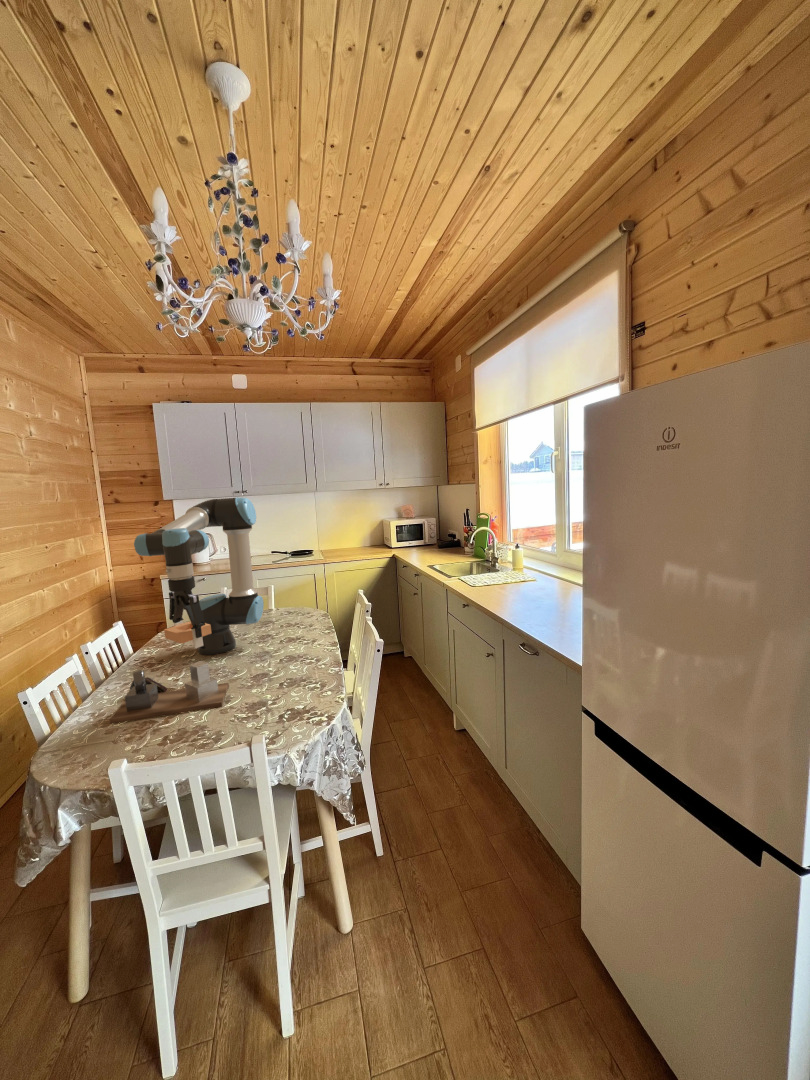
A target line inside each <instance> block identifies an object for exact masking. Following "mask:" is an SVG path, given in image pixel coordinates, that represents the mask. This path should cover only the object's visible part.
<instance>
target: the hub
mask: <svg viewBox="0 0 810 1080" xmlns="http://www.w3.org/2000/svg"><path fill="white" fill-rule="evenodd" d="M209 667H210V666H209V662H206V661H203V660H199V661H197V662H194V663H191V664H189V672H190V678H191V679H190V680H189V681H188V682H185V683H184V687H185V689H186V696H187V698H189V699H191V700H194V701H196V702H199V703H200V702H202V701H204V700H206V699H208V698H210V697H212V696H214V695H216V694H218V693H219V692H218V679H217V678H216V677H212V676H210V669H209Z"/></svg>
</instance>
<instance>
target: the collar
mask: <svg viewBox="0 0 810 1080" xmlns="http://www.w3.org/2000/svg"><path fill="white" fill-rule="evenodd" d="M192 627H193V626H192V624H191V621H190V620H189V621H187V622H183V624H180V625H177V626H174V625H173V626H171V627H168V628H164V629H163V631H164V637H165V639H166V640H168V641H172V642H175V643H177V642H178V643H179V644H181V645H182V644H185V643H188V642H190V641H193V636H192V629H191V628H192ZM201 630H202V637H203V636H206V635H208V634H211V625H210V624H206V623H205V625H204V626H202V627H201ZM178 643H177V644H178Z"/></svg>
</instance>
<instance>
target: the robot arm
mask: <svg viewBox="0 0 810 1080" xmlns="http://www.w3.org/2000/svg"><path fill="white" fill-rule="evenodd" d="M256 522H257V512H256V509H255V506H254V504H253V501H251V499H249V498H247V497H229V498H226V497H225V498H213V499H208V500H204V501H202V502H199V503H198V504H196V505H193V506H192V507H190V508H188V509H187V510H186V511H185V514H183V515H180V517H178V518H176V519H174V520H173V521H171V522H169V523H167V524H166V525H164V526H162V527H161V528H158V529H157V530H155V531H153V532H150V533H146V532H145V533H142V534H138V535H137V536H136V537H135V539H134V542H133V546H134V550H135V552H136V554H137V555H139V556H140V557H155V556H164V560H165V568H166V569H165V573H166V575H167V579H168V580H167V585H168V590H169V592H168V597H169V617H168V619H169V620H170V621H172V623H173V624H174V625H173V627H174V626H177V625H180V624H183V623H184V618H183V615H184V610H185V611H186V613H187V617H188V619H189V622H190V621H191V624H192V626H193V627H192V628H191V629H192V636H193V640H192V641H193V642H192V644H193V649H195V650H196V649H198V653H199V654H200V655H202V656H211V655H219V654H223V653H226V652H229V651H231V650H233V649H234V648H235V647H236V646H237V644H236V642H237V640H236V638H235V637H234V635H233V632H232V630H231V627H230V626H233V625H234V626H235V625H236V626H237V625H238V626H239V625H251V624H256V623H257V624H258V622H259V621H260V620H261V619H262V616H263V612H264V598H263V596H262V595H259V594H258V590H257V589H256V588H255V587H254V579H253V569H252V556H251V554H252V553H251V545H250V532H251V531H252V529H253V525H255V524H256ZM210 527H222V531H223V532H224V533H225V534H226V537H227V548H228V560H229V568H230V580H231V592H229V594H228V597H227V594H225V593H218V594H212V595H209V596H205V597H203V598H202V599H199V598H200V597H199V595H198V594H195V595H194V594H193V592H192V591H193V589H195V588H196V581H195V576H194V574H195V572H194V564H193V558H192V555H194V554H197V553H201V552H202V551H205V550H206V549H207V548H208V546H209V544H210V539H209V535H208V534H207V533H206V532H204V531H203V529H205V528H210ZM205 623H206V624H210V625H211V634H208V635H206V636H203V637H202V630H201V627H202V626H204V625H205ZM176 643H177V644H178V642H176Z"/></svg>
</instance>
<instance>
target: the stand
mask: <svg viewBox="0 0 810 1080" xmlns="http://www.w3.org/2000/svg"><path fill="white" fill-rule="evenodd" d="M132 677H133V681H134V684H135V686H134V687H132V689H131V690H130V689H129V691H128V692H127V693H126V695H125V696H124V701H125V702H126V708H127V712H128V711H135V710H141V709H148V708H152V706H153V705H154V703H155V702H156V700H157V699H158V691H157V684H156V683H155V684H148V685H146V683H145V678H146V677H145V671H144V670H142V669H141V670H137V671H136V670H135V671H134V672H133V673H132Z"/></svg>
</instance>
